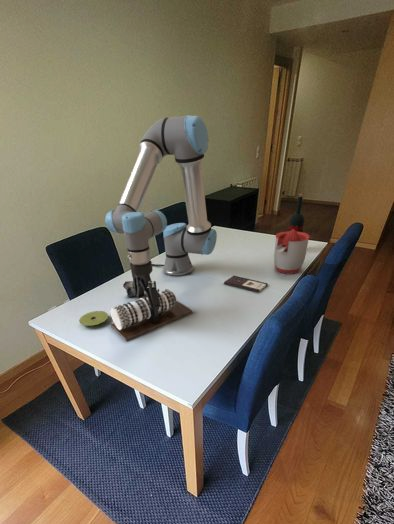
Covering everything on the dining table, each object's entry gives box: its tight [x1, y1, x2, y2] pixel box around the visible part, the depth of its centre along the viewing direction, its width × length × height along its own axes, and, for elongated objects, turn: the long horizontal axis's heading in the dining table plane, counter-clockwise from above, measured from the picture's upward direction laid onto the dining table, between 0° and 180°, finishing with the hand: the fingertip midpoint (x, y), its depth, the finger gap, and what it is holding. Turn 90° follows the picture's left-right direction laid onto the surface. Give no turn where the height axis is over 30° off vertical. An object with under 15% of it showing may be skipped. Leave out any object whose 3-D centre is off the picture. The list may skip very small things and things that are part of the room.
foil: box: [122, 280, 160, 298], centre depth 131 cm, size 12×11×15 cm
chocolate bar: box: [223, 275, 268, 293], centre depth 138 cm, size 9×1×18 cm
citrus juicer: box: [273, 229, 311, 275], centre depth 143 cm, size 16×17×20 cm
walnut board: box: [110, 300, 193, 342], centre depth 116 cm, size 30×13×1 cm, turn 128°
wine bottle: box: [287, 193, 305, 232], centre depth 161 cm, size 8×10×30 cm
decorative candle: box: [110, 288, 177, 330], centre depth 112 cm, size 9×9×25 cm
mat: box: [78, 310, 109, 327], centre depth 117 cm, size 11×11×2 cm
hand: (150, 317), depth 115 cm, fingers closed on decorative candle, 8 cm apart
